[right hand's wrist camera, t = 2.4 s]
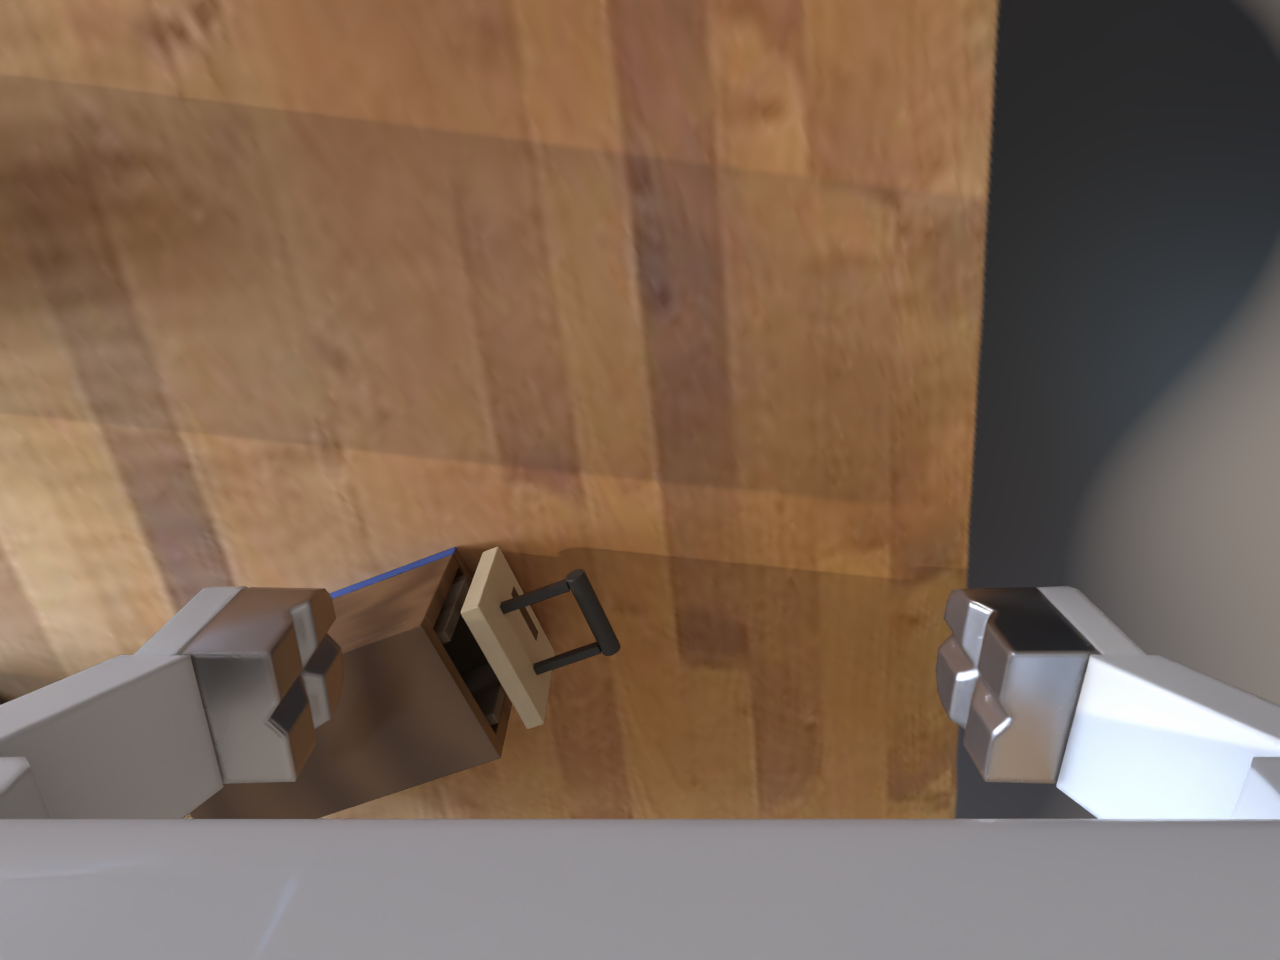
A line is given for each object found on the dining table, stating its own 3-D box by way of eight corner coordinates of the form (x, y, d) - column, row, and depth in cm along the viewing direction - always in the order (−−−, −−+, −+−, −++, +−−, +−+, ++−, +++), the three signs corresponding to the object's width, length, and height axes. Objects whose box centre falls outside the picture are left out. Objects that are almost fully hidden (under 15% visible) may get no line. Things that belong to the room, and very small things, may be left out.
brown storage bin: (456, 546, 52) (420, 624, 44) (521, 664, 56) (500, 758, 47) (203, 640, 55) (121, 732, 46) (281, 747, 59) (220, 850, 50)
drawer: (577, 516, 51) (569, 573, 44) (630, 626, 54) (630, 695, 47) (255, 635, 54) (199, 706, 47) (323, 732, 57) (280, 812, 50)
